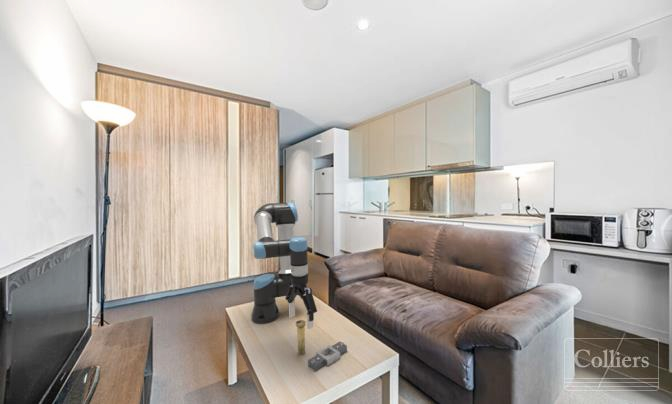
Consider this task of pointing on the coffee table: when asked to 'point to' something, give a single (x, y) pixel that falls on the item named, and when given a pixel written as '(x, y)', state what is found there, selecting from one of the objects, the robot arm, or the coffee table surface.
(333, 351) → the chain joint
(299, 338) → the pin
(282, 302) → the coffee table surface
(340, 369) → the coffee table surface
